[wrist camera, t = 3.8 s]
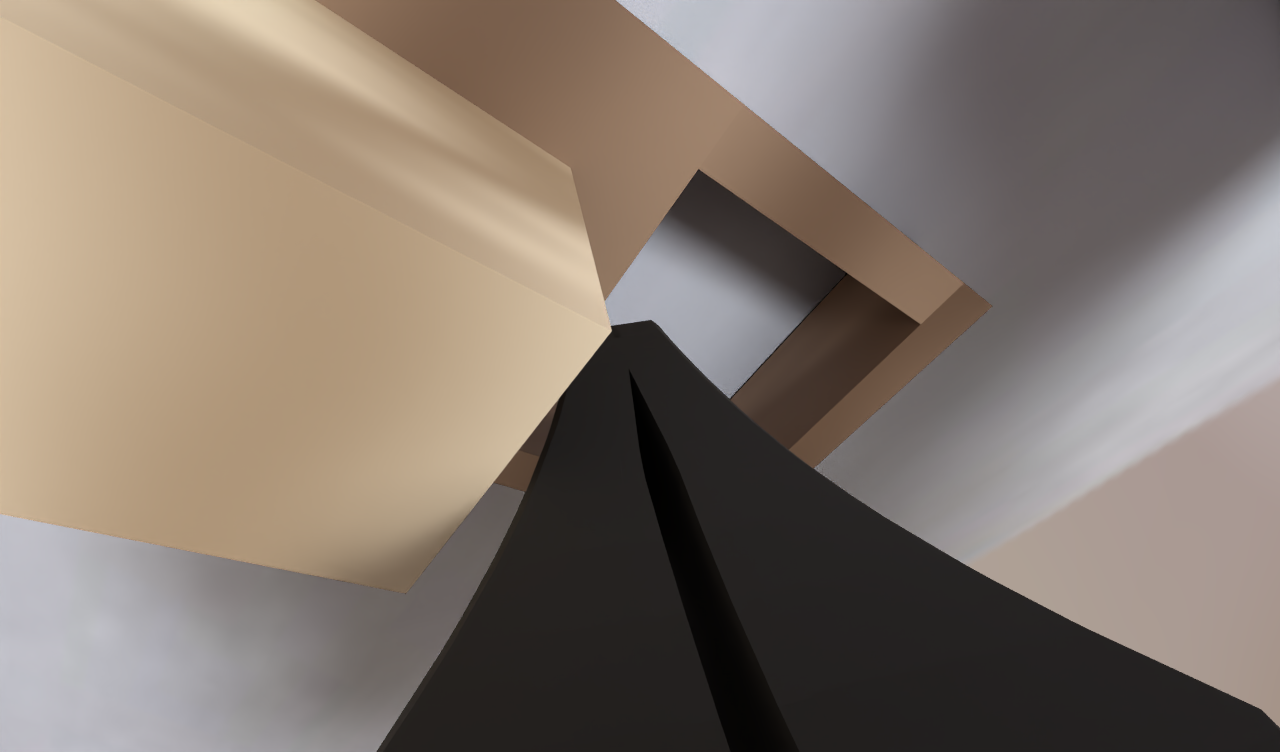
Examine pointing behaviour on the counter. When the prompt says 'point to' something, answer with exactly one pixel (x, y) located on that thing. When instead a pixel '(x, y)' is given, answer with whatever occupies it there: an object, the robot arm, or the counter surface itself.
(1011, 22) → the counter surface
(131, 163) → the beech block
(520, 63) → the frame
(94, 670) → the counter surface
